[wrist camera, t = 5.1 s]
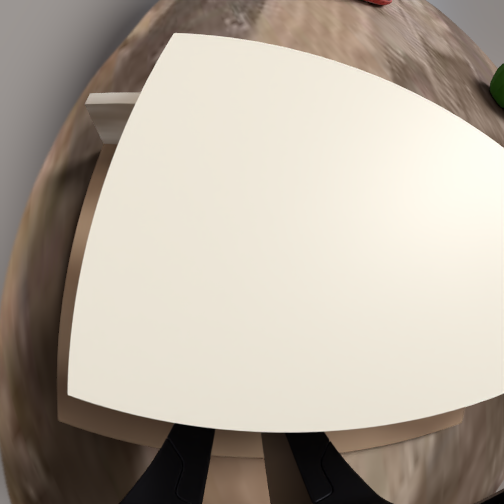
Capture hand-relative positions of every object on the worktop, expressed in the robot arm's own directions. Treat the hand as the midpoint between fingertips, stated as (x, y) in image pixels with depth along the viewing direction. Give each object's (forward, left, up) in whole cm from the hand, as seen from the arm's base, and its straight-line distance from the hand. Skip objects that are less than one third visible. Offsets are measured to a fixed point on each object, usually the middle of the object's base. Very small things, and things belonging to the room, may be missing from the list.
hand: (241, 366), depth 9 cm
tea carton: (+5, -2, -5) cm, 7 cm away
